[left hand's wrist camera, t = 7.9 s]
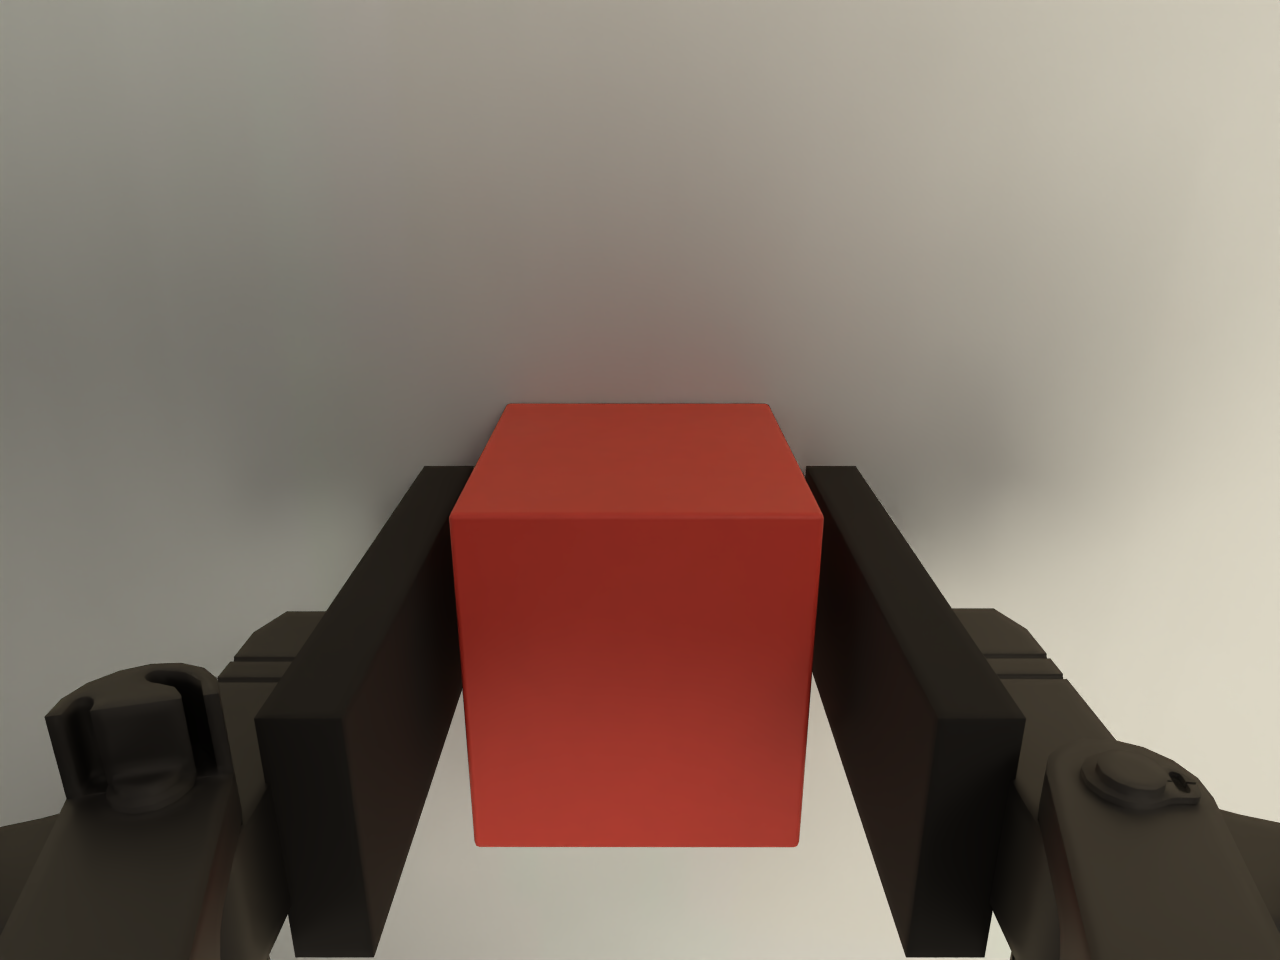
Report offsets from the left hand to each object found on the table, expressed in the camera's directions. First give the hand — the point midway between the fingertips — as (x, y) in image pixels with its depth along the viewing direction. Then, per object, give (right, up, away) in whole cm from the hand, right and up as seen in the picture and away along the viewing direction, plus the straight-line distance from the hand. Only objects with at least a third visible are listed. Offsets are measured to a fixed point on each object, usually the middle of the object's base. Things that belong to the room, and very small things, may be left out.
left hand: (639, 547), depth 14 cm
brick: (0, 0, +1) cm, 1 cm away
